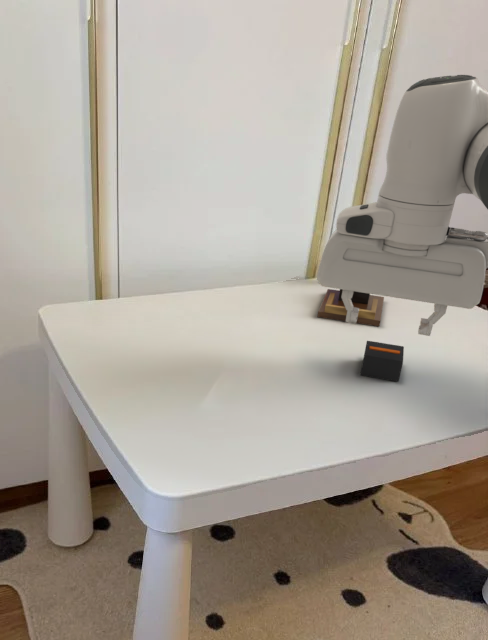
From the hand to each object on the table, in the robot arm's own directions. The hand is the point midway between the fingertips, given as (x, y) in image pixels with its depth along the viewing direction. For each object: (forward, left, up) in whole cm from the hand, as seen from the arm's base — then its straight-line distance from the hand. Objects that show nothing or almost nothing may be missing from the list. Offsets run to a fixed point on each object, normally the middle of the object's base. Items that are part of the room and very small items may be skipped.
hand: (386, 327), depth 84 cm
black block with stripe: (0, 0, -6) cm, 6 cm away
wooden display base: (+6, -24, -6) cm, 25 cm away
